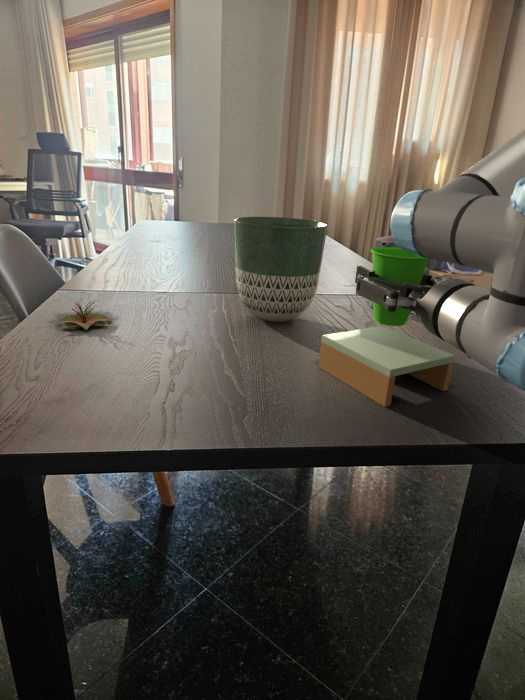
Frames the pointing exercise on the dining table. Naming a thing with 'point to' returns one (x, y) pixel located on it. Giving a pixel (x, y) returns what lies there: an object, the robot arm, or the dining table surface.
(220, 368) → the dining table surface
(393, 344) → the shelf
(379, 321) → the cup
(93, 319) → the lily flower
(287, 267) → the planter
